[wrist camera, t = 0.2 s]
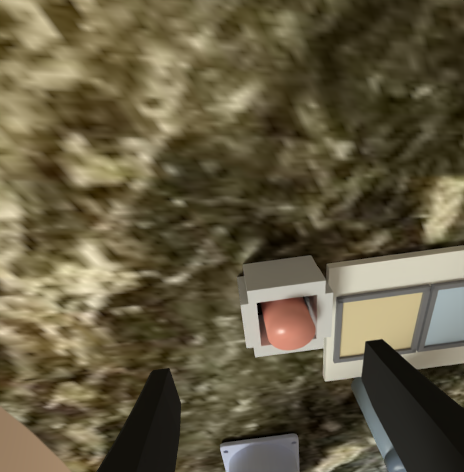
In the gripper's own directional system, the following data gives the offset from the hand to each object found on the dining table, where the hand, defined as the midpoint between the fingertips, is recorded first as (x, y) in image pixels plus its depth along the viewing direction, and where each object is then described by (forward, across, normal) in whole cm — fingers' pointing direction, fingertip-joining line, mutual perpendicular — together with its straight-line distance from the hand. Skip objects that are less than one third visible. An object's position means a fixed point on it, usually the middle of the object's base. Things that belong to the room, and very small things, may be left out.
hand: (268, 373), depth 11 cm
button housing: (+10, -2, +4) cm, 11 cm away
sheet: (+10, -13, +8) cm, 19 cm away
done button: (+10, -2, +4) cm, 11 cm away
